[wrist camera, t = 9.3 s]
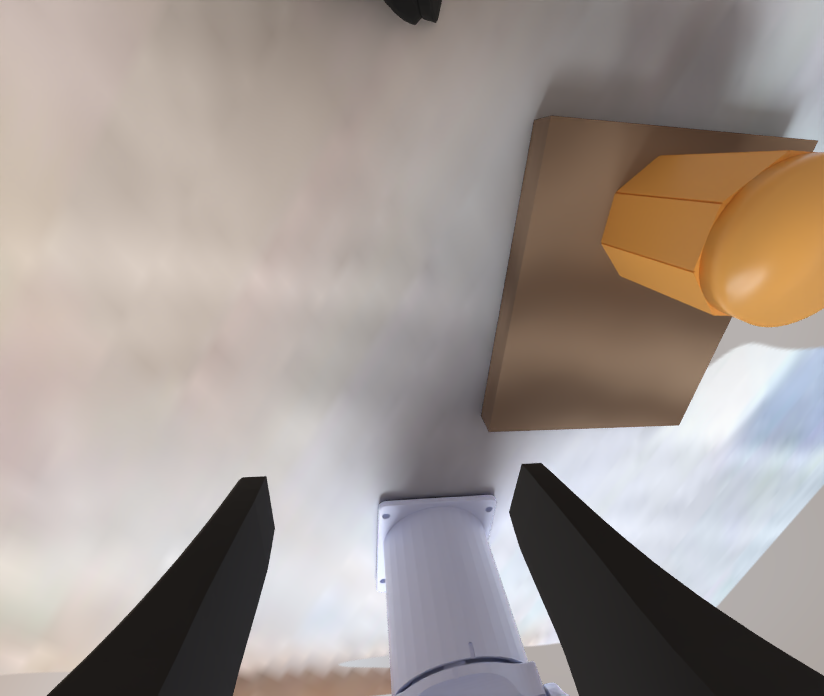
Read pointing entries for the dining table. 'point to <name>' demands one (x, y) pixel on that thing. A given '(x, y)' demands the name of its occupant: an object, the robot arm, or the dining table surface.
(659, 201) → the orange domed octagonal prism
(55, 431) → the dining table surface
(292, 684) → the dining table surface
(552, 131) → the board
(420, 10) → the electric trimmer
